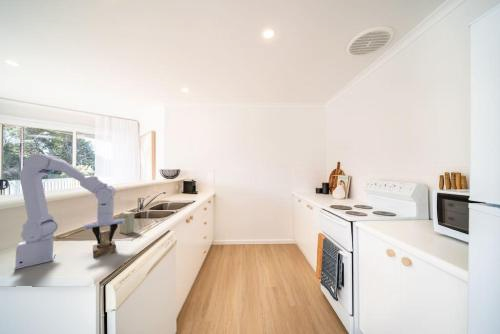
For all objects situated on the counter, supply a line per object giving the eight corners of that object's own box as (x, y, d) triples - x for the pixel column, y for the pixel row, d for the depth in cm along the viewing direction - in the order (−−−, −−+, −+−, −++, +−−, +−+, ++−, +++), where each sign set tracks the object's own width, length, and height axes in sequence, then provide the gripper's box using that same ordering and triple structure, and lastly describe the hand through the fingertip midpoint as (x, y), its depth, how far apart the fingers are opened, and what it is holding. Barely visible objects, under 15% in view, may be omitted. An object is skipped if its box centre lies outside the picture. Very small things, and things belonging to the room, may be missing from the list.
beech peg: (99, 251, 76) (100, 233, 77) (98, 248, 79) (99, 231, 79) (110, 248, 79) (110, 231, 79) (108, 246, 81) (109, 229, 82)
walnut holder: (93, 257, 73) (93, 250, 74) (92, 251, 79) (93, 245, 79) (115, 252, 79) (115, 245, 79) (113, 246, 84) (114, 240, 84)
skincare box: (119, 233, 103) (120, 212, 104) (126, 230, 107) (127, 211, 108) (127, 234, 101) (127, 213, 102) (134, 231, 106) (134, 211, 106)
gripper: (83, 216, 71) (82, 249, 71) (126, 211, 82) (125, 240, 81) (83, 213, 77) (82, 244, 76) (123, 209, 87) (122, 236, 86)
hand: (104, 242), depth 79 cm, fingers closed on beech peg, 4 cm apart
